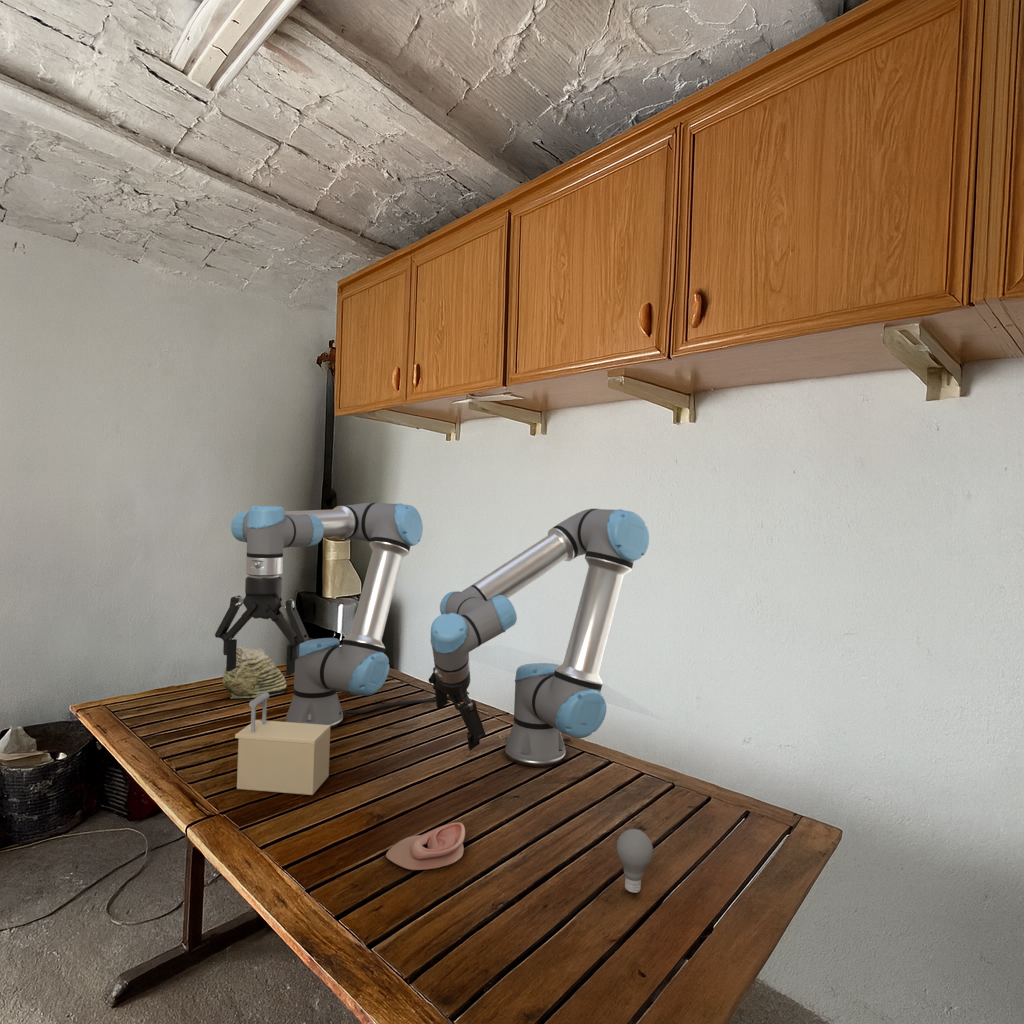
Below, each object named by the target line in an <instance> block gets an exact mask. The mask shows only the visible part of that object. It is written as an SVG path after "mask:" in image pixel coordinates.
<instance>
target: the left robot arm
mask: <svg viewBox="0 0 1024 1024" xmlns="http://www.w3.org/2000/svg"><path fill="white" fill-rule="evenodd" d="M230 529H231V530H230V531H231V534H232V536H233V537H234V539H236V540H237V541H239V542H242V543H246V558H245V560H246V563H245V574H246V575H247V576H246V577H245V581H244V582H245V585H244V593H245V596H244V597H242V596H241V595H240V594H239V595H235V596H231V598H230V601H229V607H228V609H227V611H226V612H225V614H224V616H223V618H222V620H221V622H220V624H219V625H218V627H217V628H216V629H217V630H216V631H215V633H214V637H215V638H217V639H218V638H219V639H221V640H222V641H223V647H222V648H223V649H222V650H223V651H222V654H223V656H226V666H225V668H226V671H229V672H230V671H232V670H234V669H235V668H236V649H237V648H238V646H237V645H238V639H235V636H236V635H238V633H239V632H240V631H241V630H242V629H243V628H244V627H245V625H246V624H247V623H248V622H249V621H250V620H251V619H252V618H253V619H262V620H269V619H270V620H271V621H272V622H274V624H275V625H276V626H277V627H278V629H279V630H280V631H281V633H282V634H283V636H284V637H285V638H286V640H287V641H288V642H289V644H288V645H287V646H286V669H285V671H286V672H285V676H289V677H290V676H291V675H293V695H292V696H293V697H292V699H291V702H290V704H289V708H288V711H287V713H286V715H285V722H293V723H306V724H320V725H330V730H332V729H335V728H337V727H339V726H340V725H342V723H343V722H344V715H352V714H353V715H355V714H357V715H358V714H365V713H369V712H374V711H376V710H379V709H383V708H388V707H389V708H390V707H394V706H402V705H411V704H422V703H429V702H436V697H431V698H423V699H411V700H404V701H403V700H402V701H395V702H388V703H382V704H379V705H376V706H373V707H369V708H365V709H359V710H358V709H356V710H353V709H350V710H343V709H342V706H341V702H340V699H339V695H338V692H342V693H345V694H350V695H353V696H364V697H369V696H372V695H374V694H376V693H377V692H378V691H379V690H381V688H382V687H383V685H384V684H385V682H386V680H387V678H388V675H389V672H390V664H389V663H390V660H389V656H387V654H385V651H386V647H385V644H384V643H383V636H384V632H385V628H386V624H387V620H388V616H389V612H390V608H391V604H392V600H393V597H394V592H395V588H396V584H397V581H398V576H399V572H400V568H401V564H402V560H403V559H404V557H406V556H408V555H409V554H410V551H411V547H414V546H417V545H418V544H419V543H420V542H421V539H422V537H423V529H424V527H423V520H422V517H421V514H420V512H419V510H418V509H417V508H416V507H415V506H413V505H411V504H404V503H388V502H387V503H385V502H363V503H356V504H347V505H338V506H337V505H336V506H335V507H334V508H333V509H313V510H285V508H284V507H283V506H277V505H276V506H275V505H251V507H249V509H248V511H240V512H238V513H237V514H236V515H234V517H233V519H232V520H231V524H230ZM331 537H335V538H336V539H339V540H347V539H348V540H357V541H363V542H368V545H369V547H370V549H371V551H372V552H371V556H370V558H369V562H368V567H367V571H366V575H365V578H364V582H363V585H362V589H361V593H360V595H359V600H358V604H357V608H356V612H355V615H354V620H353V622H352V627H351V630H350V634H348V635H347V636H345V637H344V638H342V642H341V643H340V640H339V638H336V637H322V638H313V639H309V634H308V633H307V629H306V627H305V626H304V623H303V621H302V619H301V616H300V614H299V611H298V609H297V604H296V599H295V598H290V599H283V598H282V592H283V578H282V577H281V575H282V574H283V569H284V568H283V564H284V563H283V561H284V560H283V559H284V549H285V548H301V547H304V548H308V547H312V546H316V545H318V544H319V543H320V542H321V541H322V539H323V538H331ZM243 605H244V607H245V609H246V610H245V611H244V612H243V613H242V614H241V615H240V618H238V620H237V621H236V622H235V623H234V624H233V625H232V623H233V621H234V619H235V618H236V616H237V614H238V612H239V610H240V608H241V607H242V606H243ZM282 607H283V609H284V610H285V612H286V615H287V617H288V619H289V622H290V623H289V622H288V621H287V619H286V618H285V615H284V614H283V612H282V610H281V608H282ZM340 644H341V645H340ZM467 695H470V692H469V691H467ZM448 699H449V700H450V697H449V695H447V700H448Z"/></svg>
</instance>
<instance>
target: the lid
mask: <svg viewBox="0 0 1024 1024" xmlns="http://www.w3.org/2000/svg"><path fill="white" fill-rule="evenodd" d="M268 699H270V696H269V693H267V692H265V693H263V694H261V695H260V696H258V697H254V699H252V700H250V701H249V704H248V705H249V707H250V708H251V709H250V723H249V724H248V725H246V726H245V727H244V728H242V729H241V730H240V731H238V732H236V733H234V738H235V739H238V740H239V739H253V740H266V741H279V742H293V743H306V744H315V743H316V742H317V741H318V740H319V739H320V738H321V737H322V736H323V735H324V734H325V733H326V732H327V731H328V730H329V729H330V725H320V724H306V723H293V722H286V721H279V720H277V721H276V720H267V711H268V710H267V708H268ZM261 704H262V713H261V715H262V716H261V719H256V717H257V715H256V714H257V713H256V712H257V707H258V706H259V705H261ZM330 730H331V729H330Z"/></svg>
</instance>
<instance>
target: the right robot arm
mask: <svg viewBox="0 0 1024 1024" xmlns="http://www.w3.org/2000/svg"><path fill="white" fill-rule="evenodd" d="M649 546H650V531H649V528H648V526H647V525H646V521H645V520H644V519H643V518H642V517H641V516H640V514H638V513H636V512H634V511H632V510H631V511H630V510H626V509H625V510H624V509H622V508H621V509H603V508H602V509H601V508H588V509H584V510H581V511H579V512H576V513H575V514H572V515H571V516H569V517H567V518H565V519H564V520H563V521H560V522H559V523H557V524H556V525H554V526H552V527H551V528H550V529H548V531H547V535H546V536H545V537H543V538H541V539H540V540H539V541H537V542H536V543H534V544H532V545H531V546H530V547H528V548H526V549H525V550H523V551H522V552H521V553H519V554H517V555H516V556H514V557H512V558H511V559H510V560H507V562H505V563H503V564H502V565H500V566H499V567H497V568H496V569H494V570H493V571H491V572H490V573H488V574H487V575H485V576H483V577H481V579H478V580H477V581H476V582H474V583H473V584H471V585H470V586H467V587H466V588H465V589H463V590H462V591H458V590H457V591H450V592H448V593H446V594H445V595H444V596H443V598H441V601H440V603H439V612H440V615H438V616H437V617H436V618H434V620H433V621H432V623H431V625H430V645H431V649H432V655H433V664H434V666H433V668H432V673H431V675H430V677H429V678H428V683H429V684H430V685H432V689H433V690H434V695H435V698H436V701H435V703H436V709H438V710H440V709H442V708H444V707H445V706H447V705H448V704H449V702H448V701H449V700H450V701H451V702H452V704H453V706H454V708H455V710H456V711H458V712H459V714H460V717H461V718H462V720H463V723H464V725H465V728H466V729H467V733H466V737H467V747H468V750H469V751H472V750H473V749H475V748H476V747H478V746H479V745H480V744H481V743H480V741H481V739H483V738H484V737H486V736H487V734H486V732H485V731H486V730H485V729H484V726H483V723H482V719H481V717H480V714H479V711H478V708H477V703H476V700H474V699H472V700H470V697H469V694H467V692H468V688H469V687H470V684H471V666H470V652H472V651H474V650H475V649H477V648H478V647H481V646H483V644H486V643H487V642H489V641H490V640H492V639H494V638H496V637H498V636H500V635H502V634H503V633H506V631H508V630H509V629H511V628H512V627H514V626H515V625H516V623H517V620H518V616H517V611H516V609H515V606H514V605H513V603H512V601H511V600H510V599H509V598H511V597H512V596H514V595H515V594H517V593H519V591H522V590H523V589H524V588H526V587H527V586H528V585H530V584H532V583H533V582H534V581H536V580H537V579H539V578H540V577H541V576H544V575H546V573H548V572H549V571H551V570H552V569H553V568H555V567H557V566H558V565H559V564H561V563H562V562H571V561H573V560H574V559H576V558H577V557H580V556H584V559H585V562H586V563H587V566H588V568H587V572H586V576H585V579H584V582H583V583H584V584H583V587H582V590H581V595H580V598H579V603H578V606H577V610H576V614H575V618H574V621H573V625H572V628H571V632H570V635H569V636H570V638H569V640H568V644H567V648H566V651H565V655H564V659H563V662H562V663H561V664H558V663H549V662H535V663H532V662H531V663H526V664H522V665H520V666H518V667H517V669H516V672H515V677H514V678H515V679H514V709H513V725H512V727H511V729H510V732H509V735H506V736H505V738H504V744H505V749H504V750H505V752H504V754H505V758H507V759H508V760H509V761H511V762H513V763H515V764H517V765H519V766H520V765H521V766H524V767H531V768H549V767H553V766H557V765H559V764H561V763H563V762H564V761H565V759H566V751H567V750H566V745H565V742H571V741H572V740H571V738H573V739H584V738H587V737H590V736H592V734H593V733H595V732H597V730H598V729H599V728H600V727H601V726H602V725H603V722H604V720H605V718H606V715H607V703H606V699H605V697H604V695H603V694H602V693H601V692H602V688H603V680H602V677H601V676H600V674H599V673H600V670H601V665H602V662H603V659H604V653H605V650H606V646H607V642H608V637H609V634H610V632H611V631H610V630H611V627H612V626H611V625H612V623H613V619H614V616H615V611H616V607H617V603H618V599H619V595H620V592H621V588H622V583H623V580H624V576H625V575H627V574H628V573H630V572H632V571H633V568H634V567H633V566H634V563H635V561H638V560H640V559H641V558H642V556H645V554H646V553H647V551H648V548H649ZM447 696H449V697H450V698H449V700H448V699H447ZM563 735H566V736H569V737H563ZM570 737H571V738H570Z"/></svg>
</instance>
